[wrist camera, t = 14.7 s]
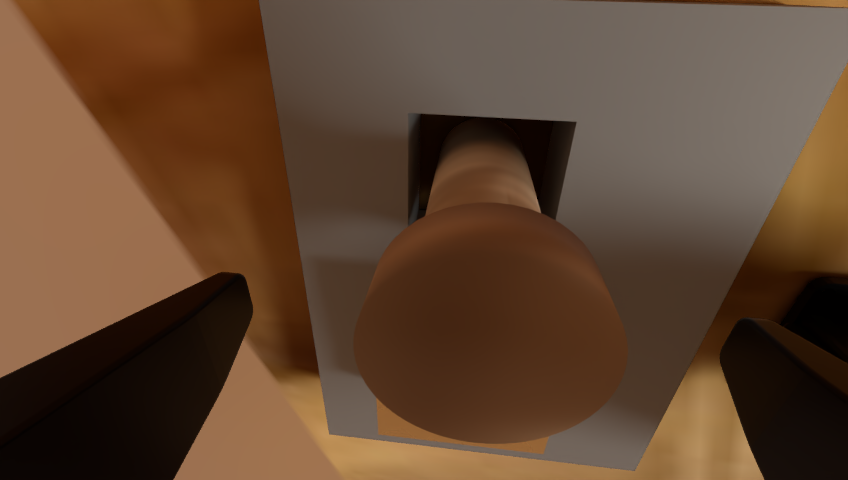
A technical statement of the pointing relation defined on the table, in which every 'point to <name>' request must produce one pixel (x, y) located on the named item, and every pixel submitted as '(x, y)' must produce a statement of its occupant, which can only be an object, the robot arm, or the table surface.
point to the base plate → (552, 159)
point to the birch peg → (489, 306)
